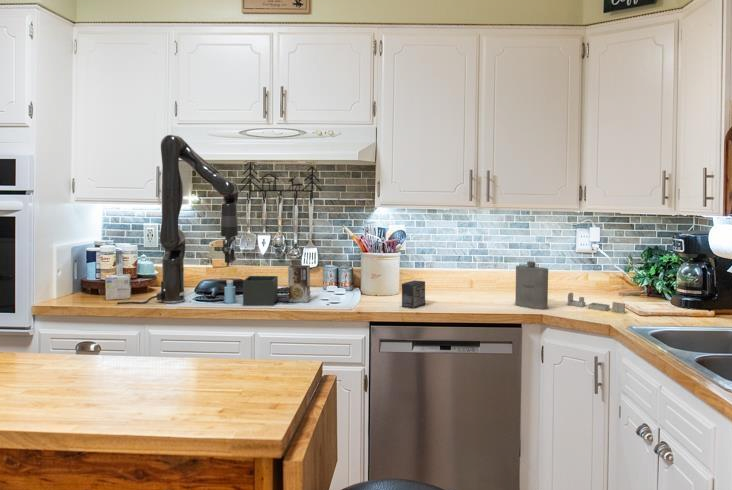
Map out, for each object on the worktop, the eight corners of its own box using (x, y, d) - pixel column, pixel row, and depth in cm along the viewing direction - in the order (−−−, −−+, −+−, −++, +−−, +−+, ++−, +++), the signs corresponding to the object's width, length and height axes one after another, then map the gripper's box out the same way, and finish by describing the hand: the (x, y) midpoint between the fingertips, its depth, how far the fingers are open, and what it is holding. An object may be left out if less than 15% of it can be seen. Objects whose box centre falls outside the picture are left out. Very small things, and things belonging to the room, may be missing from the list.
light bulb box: (131, 296, 291) (130, 273, 290) (130, 298, 285) (130, 275, 284) (106, 297, 288) (106, 274, 287) (105, 300, 281) (104, 276, 281)
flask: (512, 305, 275) (513, 260, 274) (518, 303, 279) (519, 259, 278) (543, 310, 265) (544, 264, 264) (549, 308, 269) (550, 262, 268)
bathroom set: (566, 305, 276) (567, 293, 275) (571, 303, 279) (571, 292, 279) (623, 313, 259) (623, 301, 259) (627, 311, 263) (627, 299, 262)
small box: (413, 302, 279) (413, 279, 279) (425, 304, 276) (426, 281, 275) (400, 306, 271) (401, 283, 270) (413, 308, 267) (413, 284, 266)
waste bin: (243, 305, 272) (243, 280, 271) (249, 299, 285) (249, 275, 284) (272, 305, 272) (272, 280, 271) (277, 299, 285) (277, 276, 284)
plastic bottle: (223, 303, 276) (223, 281, 275) (226, 301, 281) (225, 279, 280) (234, 303, 276) (233, 281, 275) (236, 301, 281) (236, 279, 280)
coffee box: (310, 299, 285) (310, 265, 284) (307, 302, 278) (307, 267, 278) (291, 299, 286) (291, 264, 285) (288, 302, 279) (287, 266, 279)
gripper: (224, 224, 283) (225, 259, 284) (216, 226, 269) (217, 263, 270) (241, 224, 283) (241, 259, 284) (233, 226, 269) (234, 263, 270)
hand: (229, 261), depth 277 cm, fingers open, 8 cm apart
